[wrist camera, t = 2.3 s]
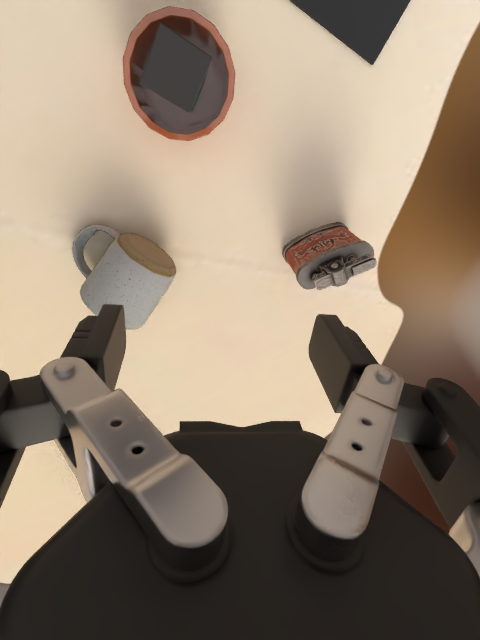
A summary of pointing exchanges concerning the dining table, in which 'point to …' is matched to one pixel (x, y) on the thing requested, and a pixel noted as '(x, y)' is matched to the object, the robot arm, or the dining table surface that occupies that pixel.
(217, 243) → the dining table surface
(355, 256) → the lighter
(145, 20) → the pen cup
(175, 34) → the block
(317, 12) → the mat
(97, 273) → the ceramic mug
